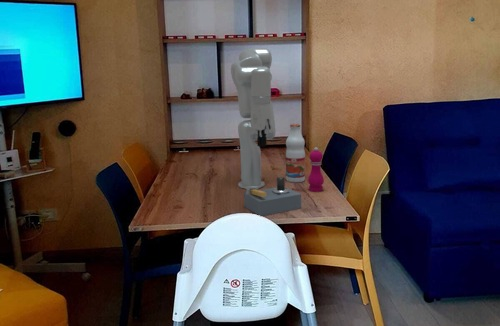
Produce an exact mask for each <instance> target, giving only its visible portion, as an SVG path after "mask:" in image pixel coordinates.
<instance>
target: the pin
mask: <svg viewBox="0 0 500 326" xmlns="http://www.w3.org/2000/svg"><path fill="white" fill-rule="evenodd" d="M285 179H286V177H284V176H278V177H276V187H277V188H275V187H273V188H274V189H273V193H275V194H278V195H280V194H286V193H288V192H289V189H290V188H289V187H287V188H285V187H286V186H285V185H286V184H285V183H286V181H285ZM288 188H289V189H288Z"/></svg>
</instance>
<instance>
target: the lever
mask: <svg viewBox="0 0 500 326" xmlns="http://www.w3.org/2000/svg"><path fill="white" fill-rule="evenodd" d="M260 190H261V189H259V190H256V189H250V193H251V194H253V195H257V196H260V197H265V196H266V192H264V191H260Z"/></svg>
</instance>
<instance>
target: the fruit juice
mask: <svg viewBox="0 0 500 326" xmlns="http://www.w3.org/2000/svg"><path fill="white" fill-rule="evenodd" d="M289 127H290V131H289V133H288V136H287V138H286V139H285V140H286V141H285V146H286V150H285V179H286V181H287V182H289V183H302V182H304V181H305V180H306V152H305V151H306V150H305V138H304V137H303V134H302V131H301V124H300V123H290V125H289Z"/></svg>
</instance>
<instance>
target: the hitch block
mask: <svg viewBox="0 0 500 326" xmlns="http://www.w3.org/2000/svg"><path fill="white" fill-rule="evenodd" d="M274 188H277V186H276V187H270V188H263V189H260V188H257V187H255V189H256V190H260V191H264V192H266V196H265V197H260V196H257V195H253V194H251V193H250V190H251V189H245V190H246V192H244V193H243V203H244V205H243V207H244V208H246V209H247V210H249V211H251V212H252V213H254V214H256V215H257V214H258V215H257V216H259V215H261V216H260V217H264V216H269V215H275V214H279V213H280V214H281V213H284V212H288V211H294V210H299V209H302V194H301V193H299V192H298V191H295V190H292V188H289V187H286V186H285V188H288V189H289V192H288V193H286V194H280V195H278V194H275V193H273V189H274Z"/></svg>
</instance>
